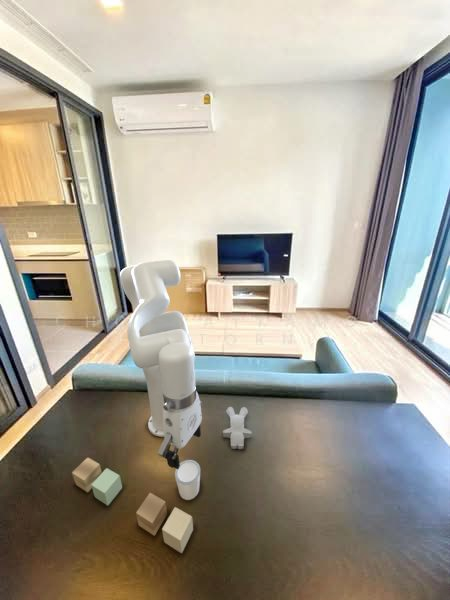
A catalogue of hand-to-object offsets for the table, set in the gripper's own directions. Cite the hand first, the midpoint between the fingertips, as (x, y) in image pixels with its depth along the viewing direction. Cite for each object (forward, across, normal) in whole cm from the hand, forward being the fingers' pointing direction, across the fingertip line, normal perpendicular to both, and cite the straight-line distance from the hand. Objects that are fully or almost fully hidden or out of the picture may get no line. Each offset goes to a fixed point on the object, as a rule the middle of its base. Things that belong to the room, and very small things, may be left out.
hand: (185, 449), depth 63 cm
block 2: (+16, -10, +20) cm, 27 cm away
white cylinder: (+16, +1, 0) cm, 16 cm away
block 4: (+16, -9, -3) cm, 19 cm away
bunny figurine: (+16, +24, -4) cm, 29 cm away
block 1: (+15, -10, +28) cm, 33 cm away
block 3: (+16, -9, +5) cm, 19 cm away
